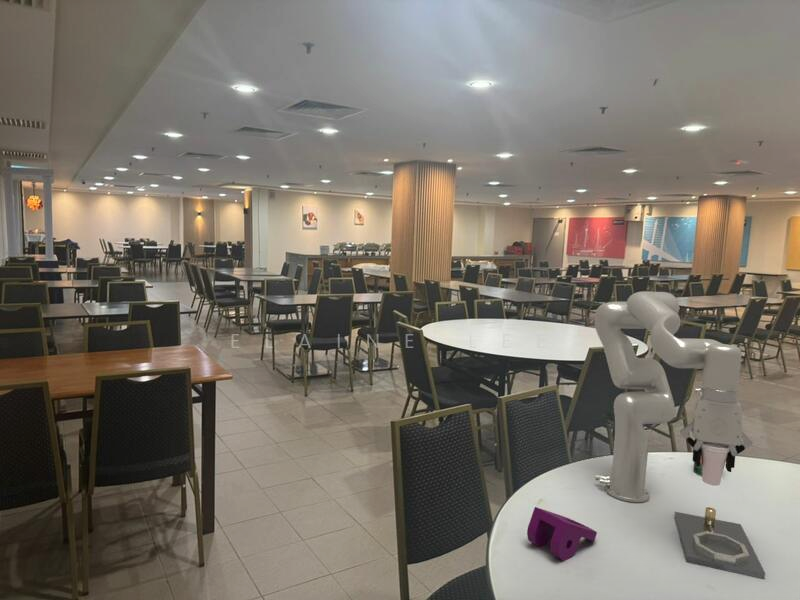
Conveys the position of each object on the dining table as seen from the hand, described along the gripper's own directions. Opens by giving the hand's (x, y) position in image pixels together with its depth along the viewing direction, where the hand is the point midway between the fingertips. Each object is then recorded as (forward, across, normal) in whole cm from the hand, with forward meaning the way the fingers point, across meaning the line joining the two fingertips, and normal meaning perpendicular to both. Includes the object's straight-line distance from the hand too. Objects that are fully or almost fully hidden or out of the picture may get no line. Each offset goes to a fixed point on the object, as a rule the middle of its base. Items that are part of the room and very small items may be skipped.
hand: (712, 466), depth 131 cm
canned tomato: (+21, +8, +57) cm, 61 cm away
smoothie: (+4, 0, 0) cm, 4 cm away
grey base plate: (+22, +3, +5) cm, 23 cm away
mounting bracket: (+22, -32, -12) cm, 41 cm away
